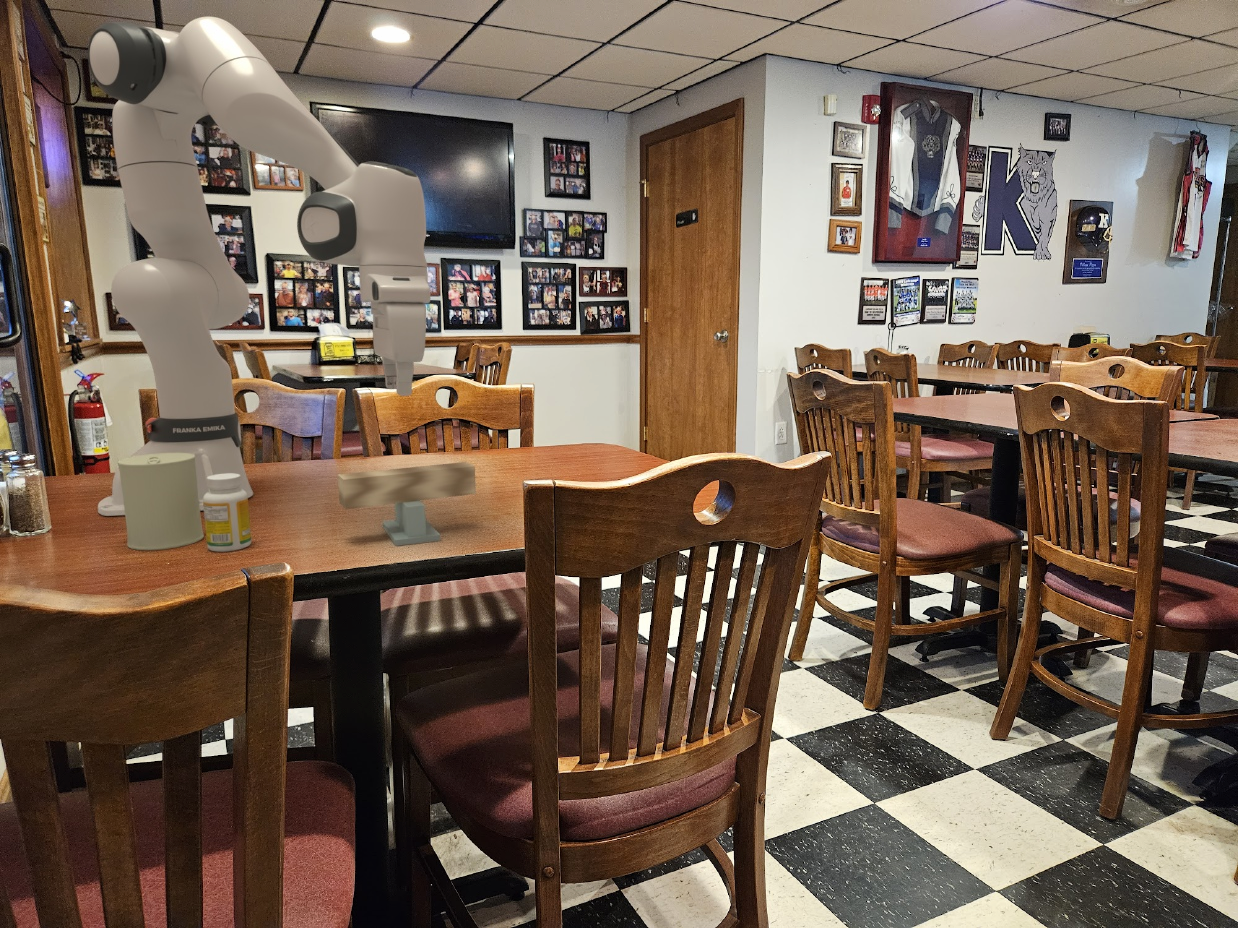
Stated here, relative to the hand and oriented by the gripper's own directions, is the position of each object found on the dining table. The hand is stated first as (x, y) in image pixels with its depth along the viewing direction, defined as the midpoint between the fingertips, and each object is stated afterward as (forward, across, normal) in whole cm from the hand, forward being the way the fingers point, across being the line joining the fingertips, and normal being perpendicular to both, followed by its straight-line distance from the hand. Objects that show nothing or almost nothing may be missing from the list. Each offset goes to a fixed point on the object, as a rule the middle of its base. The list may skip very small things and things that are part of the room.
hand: (398, 392), depth 111 cm
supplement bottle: (+20, -2, -22) cm, 30 cm away
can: (+21, -9, -30) cm, 38 cm away
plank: (+15, +2, +1) cm, 15 cm away
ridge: (+20, +2, +1) cm, 20 cm away
